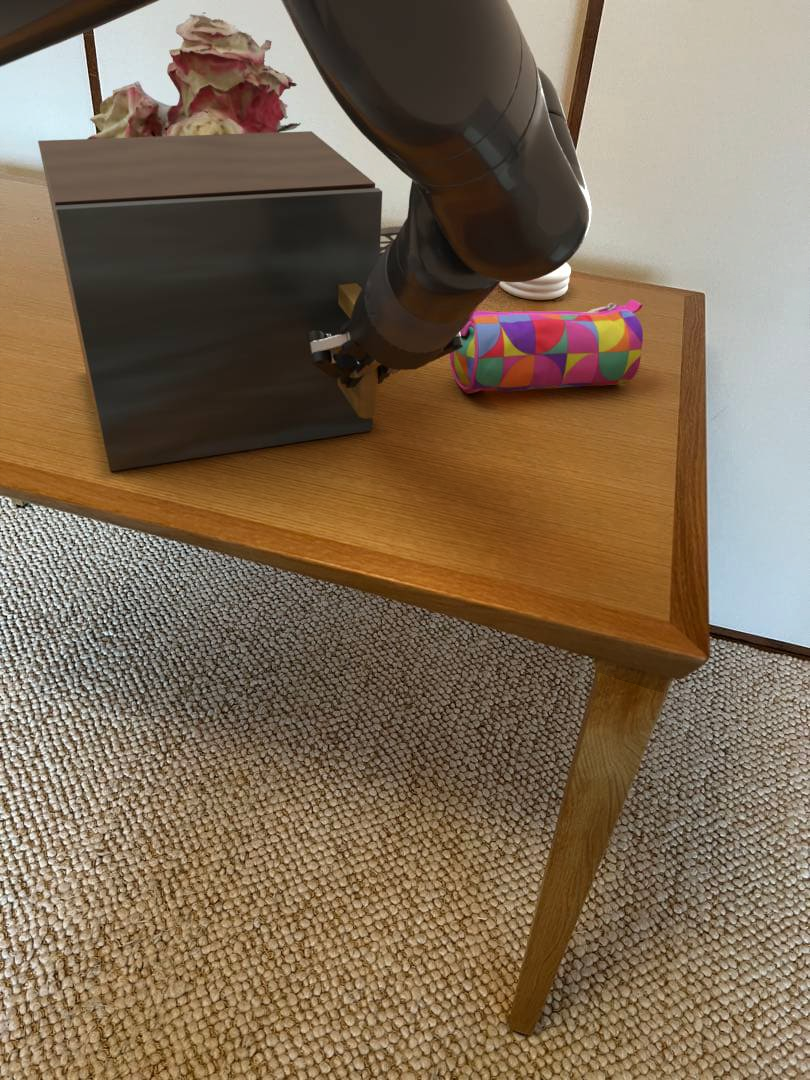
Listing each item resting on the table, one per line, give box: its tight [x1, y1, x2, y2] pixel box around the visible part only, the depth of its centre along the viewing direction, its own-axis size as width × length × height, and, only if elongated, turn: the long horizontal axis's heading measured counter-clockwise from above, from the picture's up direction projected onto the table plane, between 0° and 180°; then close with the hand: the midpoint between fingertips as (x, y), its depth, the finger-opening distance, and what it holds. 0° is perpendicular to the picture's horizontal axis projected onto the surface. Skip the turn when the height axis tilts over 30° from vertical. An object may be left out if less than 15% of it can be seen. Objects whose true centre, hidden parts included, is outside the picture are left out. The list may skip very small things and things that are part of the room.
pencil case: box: [449, 298, 644, 395], centre depth 92 cm, size 22×9×9 cm, turn 108°
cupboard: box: [37, 130, 376, 466], centre depth 80 cm, size 18×26×24 cm
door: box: [56, 187, 383, 472], centre depth 70 cm, size 8×26×24 cm, turn 112°
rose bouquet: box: [86, 11, 302, 139], centre depth 108 cm, size 26×29×30 cm
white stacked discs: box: [498, 262, 572, 301], centre depth 116 cm, size 10×10×4 cm
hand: (361, 375), depth 75 cm, fingers closed on door, 2 cm apart
